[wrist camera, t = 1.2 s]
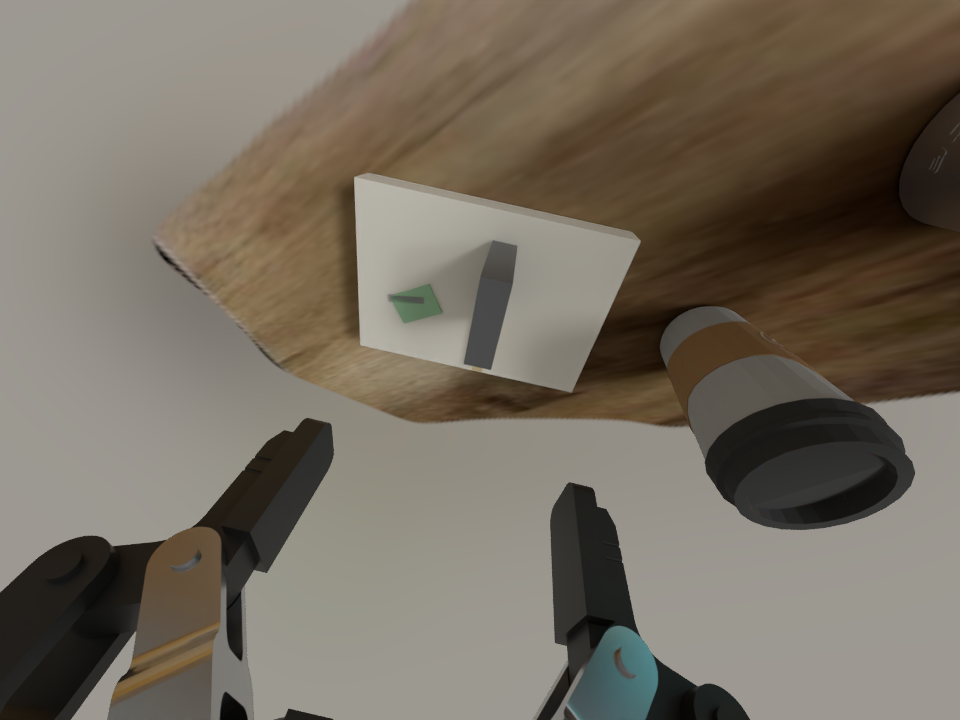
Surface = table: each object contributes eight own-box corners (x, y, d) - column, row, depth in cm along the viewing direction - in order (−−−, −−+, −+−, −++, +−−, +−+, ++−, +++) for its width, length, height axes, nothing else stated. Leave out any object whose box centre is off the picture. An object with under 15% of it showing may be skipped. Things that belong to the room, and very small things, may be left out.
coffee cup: (773, 339, 28) (955, 501, 16) (677, 389, 32) (765, 549, 20) (723, 270, 26) (895, 402, 13) (626, 334, 30) (691, 480, 18)
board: (632, 231, 25) (641, 242, 23) (569, 376, 33) (571, 393, 31) (368, 172, 25) (352, 177, 23) (370, 331, 33) (359, 346, 31)
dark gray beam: (517, 245, 24) (512, 283, 18) (487, 367, 30) (477, 424, 25) (492, 240, 24) (480, 276, 18) (468, 363, 30) (453, 418, 25)
